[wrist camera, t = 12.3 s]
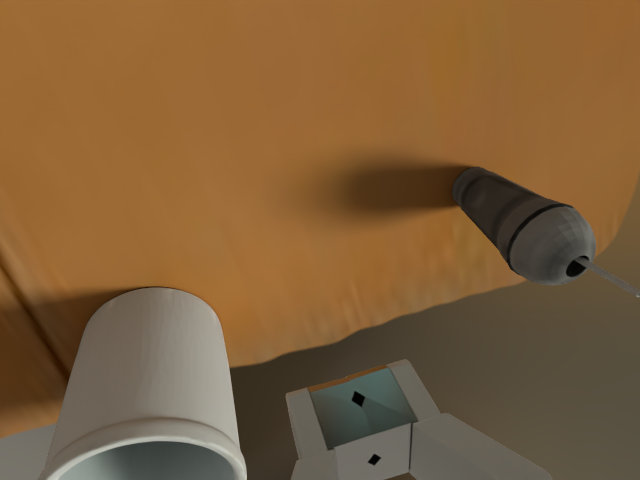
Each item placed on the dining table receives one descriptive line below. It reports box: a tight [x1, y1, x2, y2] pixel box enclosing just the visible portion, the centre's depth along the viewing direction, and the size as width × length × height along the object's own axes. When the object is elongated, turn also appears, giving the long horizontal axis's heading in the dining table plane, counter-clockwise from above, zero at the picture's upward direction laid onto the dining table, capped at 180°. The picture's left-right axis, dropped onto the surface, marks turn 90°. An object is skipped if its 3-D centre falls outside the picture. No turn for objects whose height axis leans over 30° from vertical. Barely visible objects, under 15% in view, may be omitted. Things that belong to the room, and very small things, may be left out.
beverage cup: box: [452, 167, 640, 297], centre depth 40 cm, size 7×7×20 cm
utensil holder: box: [38, 287, 247, 480], centre depth 40 cm, size 15×15×18 cm
